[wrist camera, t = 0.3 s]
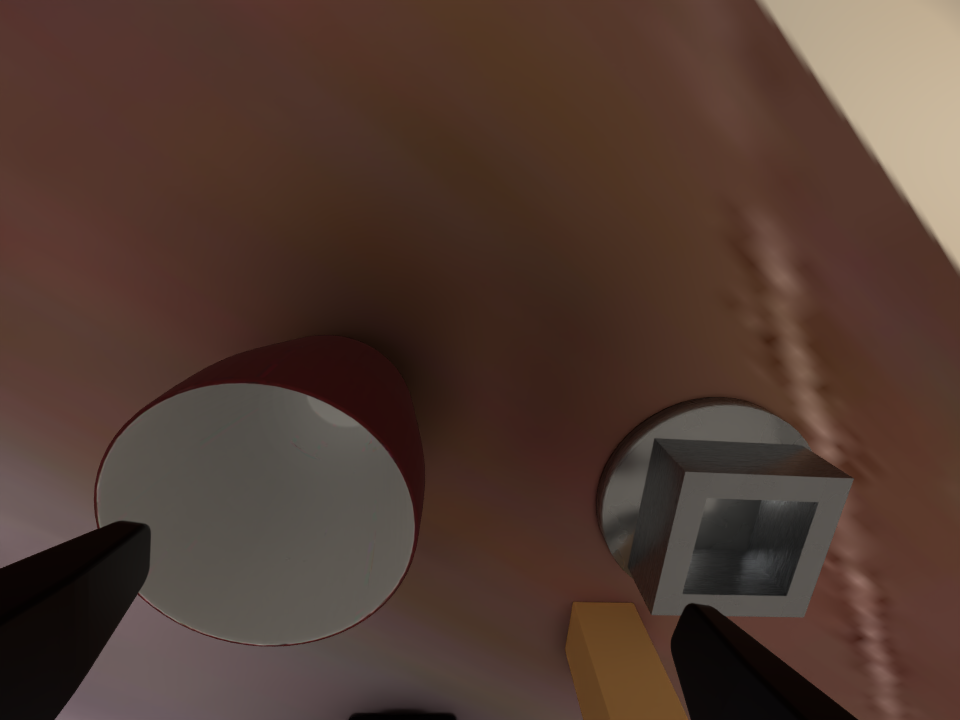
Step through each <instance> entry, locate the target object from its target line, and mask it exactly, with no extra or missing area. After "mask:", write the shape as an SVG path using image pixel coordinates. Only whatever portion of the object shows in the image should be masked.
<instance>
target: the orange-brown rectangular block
mask: <svg viewBox="0 0 960 720" xmlns="http://www.w3.org/2000/svg"><path fill="white" fill-rule="evenodd" d="M565 652H566V655H567V659H568V663H569V667H570V671H571V675H572V678H573V682H574V686H575V690H576V694H577V698H578V701H579V705H580V709H581V713H582V717H583V720H688V718H687V716H686V714H685V712H684V709H683V707H682V705H681V703H680V701H679V699H678V697H677V695H676V692H675V690H674V688H673V686H672V684H671V682H670V680H669V678H668V676H667V673H666V671H665V669H664V667H663V665H662V663H661V661H660V659H659V656H658V654H657V652H656V650H655V648H654V646H653V644H652V642H651V639H650V637H649V635H648V633H647V631H646V629H645V627H644V625H643V623H642V620H641V618H640V616H639V614H638V612H637V610H636V608H635V606H634V603H609V602H573V606H572V612H571V617H570V623H569V629H568V635H567V641H566V646H565Z"/></svg>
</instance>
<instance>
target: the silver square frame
mask: <svg viewBox="0 0 960 720" xmlns="http://www.w3.org/2000/svg"><path fill="white" fill-rule="evenodd" d="M853 479H854V478H852V477H851V476H849V475H847V474H846V473H844V472H843V471H841V470H840V469H838V468H837V467H835V466H833V465H832V464H830V463H829V462H827V461H826V460H824V459H823V458H821V457H819V456H818V455H816V454H815V453H813V452H812V451H811V449H810V447H809V445H808V444H807V442H806V441H805V439H804V438H803V437H802V436H801V435H800V433H799V432H798V431H797V430H795V429H794V428H793V427H792V426H791V425H790V424H788V423H787V422H785V421H783V420H782V419H780V418H779V417H777V416H775V415H774V414H772V413H770V412H769V411H767V410H765V409H764V408H762V407H760V406H757V405H755V404H753V403H750V402H747V401H743V400H739V399H733V398H725V397H709V398H701V399H694V400H690V401H687V402H683V403H679V404H677V405H674V406H671V407H669V408H666V409H664V410H663V411H661V412H659V413H657V414H655V415H653V416H651V417H650V418H649V419H647V420H646V421H644V422H643V423H641V424H640V425H639V426H638V427H636V428H635V429H634V430H633V431H632V432H630V433H629V434H628V436H627V437H626V438H625V439H624V440H623V441H622V442H621V443H620V444H619V446H618V447H617V448H616V450H615V451H614V452H613V454H612V455H611V457H610V459H609V461H608V462H607V464H606V466H605V468H604V471H603V473H602V476H601V478H600V482H599V486H598V490H597V499H596V509H597V518H598V523H599V527H600V529H601V532H602V535H603V537H604V539H605V541H606V543H607V545H608V547H609V549H610V552H611V553H612V555H613V557H614V558H615V560H616V562H617V563H618V564H619V565H620V567H621V568H622V569H623V570H624V571H625V572H626V573H627V574H628V575H629V576H630V577H632V578H633V579H634V581H635V583H636V585H637V587H638V589H639V591H640V593H641V595H642V597H643V599H644V601H645V603H646V605H647V607H648V609H649V611H650V613H651V615H681V614H682V612H683V609H684V608H685V606H686V605H688V604H689V603H696V604H703V605H709V606H712V607H714V608H715V609H717V610H718V611H719V612H720V613H722V614H723V615H724V616H758V617H804V615H805V612H806V610H807V607H808V604H809V601H810V599H811V596H812V593H813V590H814V588H815V585H816V582H817V579H818V576H819V574H820V571H821V568H822V565H823V563H824V560H825V557H826V554H827V551H828V549H829V546H830V543H831V540H832V538H833V535H834V532H835V529H836V527H837V524H838V521H839V518H840V515H841V513H842V510H843V507H844V504H845V502H846V499H847V496H848V493H849V490H850V488H851V485H852V482H853Z"/></svg>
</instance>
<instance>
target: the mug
mask: <svg viewBox="0 0 960 720" xmlns="http://www.w3.org/2000/svg"><path fill="white" fill-rule="evenodd" d="M424 489H425V464H424V455H423V449H422V443H421V438H420V433H419V429H418V425H417V420H416V416H415V412H414V407H413V403H412V399H411V396H410V393H409V390H408V388H407V385H406V383H405V381H404V379H403V377H402V376H401V374H400V373H399V371H398V370H397V369H396V368H395V366H394V365H393V364H392V363H391V362H390V361H389V360H388V359H387V358H386V357H385V356H384V355H383V354H381V353H380V352H379V351H377V350H376V349H374V348H372V347H371V346H369V345H367V344H365V343H362V342H360V341H357V340H354V339H351V338H347V337H341V336H334V335H317V336H308V337H303V338H299V339H295V340H290V341H286V342H282V343H278V344H273V345H269V346H265V347H261V348H256V349H253V350H249V351H246V352H243V353H240V354H236V355H234V356H231V357H228V358H226V359H224V360H221V361H219V362H217V363H215V364H213V365H211V366H209V367H207V368H205V369H203V370H201V371H200V372H198V373H196V374H194V375H193V376H191V377H189V378H188V379H186V380H184V381H183V382H181V383H180V384H178V385H176V386H175V387H173V388H172V389H170V390H169V391H167V392H166V393H164V394H163V395H161V396H160V397H158V398H157V399H155V400H154V401H152V402H151V403H149V404H148V405H147V406H145V407H144V408H143V409H141V410H140V411H139V412H137V413H136V414H135V415H134V416H133V417H132V418H131V419H130V420H129V421H128V422H127V423H126V424H125V425H124V426H123V427H122V428H121V429H120V430H119V432H118V433H117V434H116V435H115V437H114V438H113V440H112V441H111V443H110V444H109V446H108V448H107V450H106V452H105V454H104V456H103V458H102V460H101V463H100V466H99V469H98V472H97V477H96V482H95V490H94V510H95V518H96V523H97V528H101V527H103V526H106V525H108V524H111V523H113V522H116V521H120V520H126V521H133V522H140V523H145V524H147V525H149V527H150V529H151V551H150V569H149V573H148V576H147V579H146V581H145V583H144V585H143V586H142V588H141V590H140V591H139V593H138V595H139V596H140V597H141V598H142V599H143V600H145V601H146V602H147V603H148V604H149V605H150V606H152V607H153V608H154V609H156V610H157V611H159V612H160V613H162V614H163V615H165V616H166V617H168V618H170V619H171V620H173V621H175V622H176V623H178V624H180V625H182V626H184V627H186V628H188V629H191V630H193V631H196V632H198V633H201V634H203V635H206V636H209V637H212V638H216V639H219V640H223V641H227V642H232V643H237V644H243V645H252V646H274V647H275V646H291V645H298V644H305V643H310V642H314V641H318V640H322V639H325V638H328V637H331V636H334V635H337V634H339V633H342V632H344V631H346V630H348V629H350V628H352V627H354V626H356V625H358V624H359V623H361V622H362V621H364V620H366V619H367V618H368V617H370V616H371V615H372V614H374V613H375V612H376V611H378V610H379V609H380V608H381V607H382V606H383V605H384V604H385V603H386V602H387V601H388V600H389V599H390V598H391V597H392V595H393V594H394V593H395V592H396V590H397V589H398V587H399V586H400V585H401V583H402V581H403V580H404V578H405V576H406V574H407V572H408V570H409V568H410V565H411V563H412V560H413V557H414V553H415V550H416V546H417V541H418V535H419V529H420V522H421V516H422V509H423V500H424Z"/></svg>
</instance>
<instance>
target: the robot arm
mask: <svg viewBox="0 0 960 720" xmlns="http://www.w3.org/2000/svg"><path fill="white" fill-rule="evenodd" d="M150 551H151V529H150V527H149V525H147V524H145V523H140V522H133V521H126V520H120V521H116V522H113V523H111V524H108V525H106V526H103V527H101V528H98V529H96V530H94V531H91V532H89V533H86V534H84V535H81V536H79V537H76V538H74V539H71V540H69V541H67V542H64V543H62V544H59V545H57V546H54V547H52V548H49V549H47V550H44V551H42V552H40V553H37V554H35V555H32V556H30V557H27V558H25V559H22V560H20V561H17V562H15V563H13V564H10V565H8V566H5V567H3V568H0V720H55V718H56V717H57V716H58V714H59V713H60V712H61V711H62V709H63V708H64V706H65V705H66V704H67V702H68V701H69V700H70V698H71V697H72V695H73V694H74V693H75V691H76V690H77V688H78V687H79V685H80V684H81V682H82V681H83V679H84V678H85V676H86V675H87V673H88V672H89V670H90V669H91V667H92V666H93V664H94V662H95V661H96V659H97V658H98V656H99V654H100V653H101V651H102V650H103V648H104V647H105V645H106V643H107V642H108V640H109V639H110V637H111V635H112V634H113V632H114V631H115V629H116V628H117V626H118V624H119V623H120V621H121V620H122V618H123V616H124V615H125V613H126V612H127V610H128V609H129V607H130V605H131V604H132V602H133V601H134V599H135V597H136V596H137V594H138V593H139V591H140V590H141V588H142V586H143V585H144V583H145V581H146V579H147V576H148V573H149V569H150ZM671 652H672V657H673V660H674V664H675V667H676V670H677V674H678V677H679V681H680V684H681V688H682V691H683V694H684V698H685V701H686V705H687V708H688V711H689V715H690V718H691V720H858V719H857V718H855V717H854V716H853V715H852V714H850V713H849V712H848V711H846V710H845V709H844V708H843V707H841V706H840V705H839V704H837V703H836V702H835V701H834V700H832V699H831V698H830V697H828V696H827V695H826V694H825V693H823V692H822V691H821V690H819V689H818V688H817V687H816V686H814V685H813V684H812V683H810V682H809V681H808V680H807V679H805V678H804V677H803V676H801V675H800V674H799V673H798V672H796V671H795V670H794V669H792V668H791V667H790V666H789V665H787V664H786V663H785V662H783V661H782V660H781V659H780V658H778V657H777V656H776V655H774V654H773V653H772V652H771V651H769V650H768V649H767V648H765V647H764V646H763V645H762V644H760V643H759V642H758V641H756V640H755V639H754V638H753V637H751V636H750V635H749V634H747V633H746V632H745V631H744V630H742V629H741V628H740V627H738V626H737V625H736V624H735V623H733V622H732V621H731V620H729V619H728V618H727V617H726V616H724V615H723V614H722V613H720V612H719V611H718V610H717V609H715V608H714V607H712V606H709V605H703V604H696V603H689V604H688V605H686V606H685V608H684V609H683V612H682V614H681V616H680V619H679V621H678V624H677V626H676V628H675V631H674V633H673V635H672V638H671ZM349 720H456V719H455V718H454V717H452V716H356V717H352V718H350V719H349Z"/></svg>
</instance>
